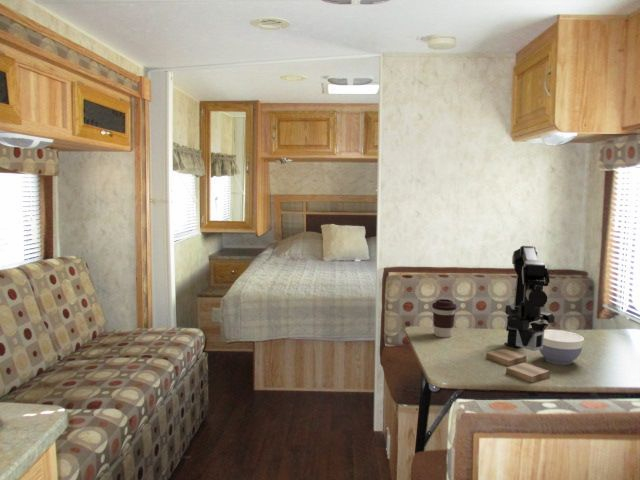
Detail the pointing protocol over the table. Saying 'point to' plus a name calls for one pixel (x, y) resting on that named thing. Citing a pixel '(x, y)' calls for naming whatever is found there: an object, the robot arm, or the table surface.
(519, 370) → the stand
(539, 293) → the robot arm
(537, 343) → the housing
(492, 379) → the table surface
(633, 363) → the table surface
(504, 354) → the stand
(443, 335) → the coffee cup
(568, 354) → the bowl
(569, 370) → the table surface
